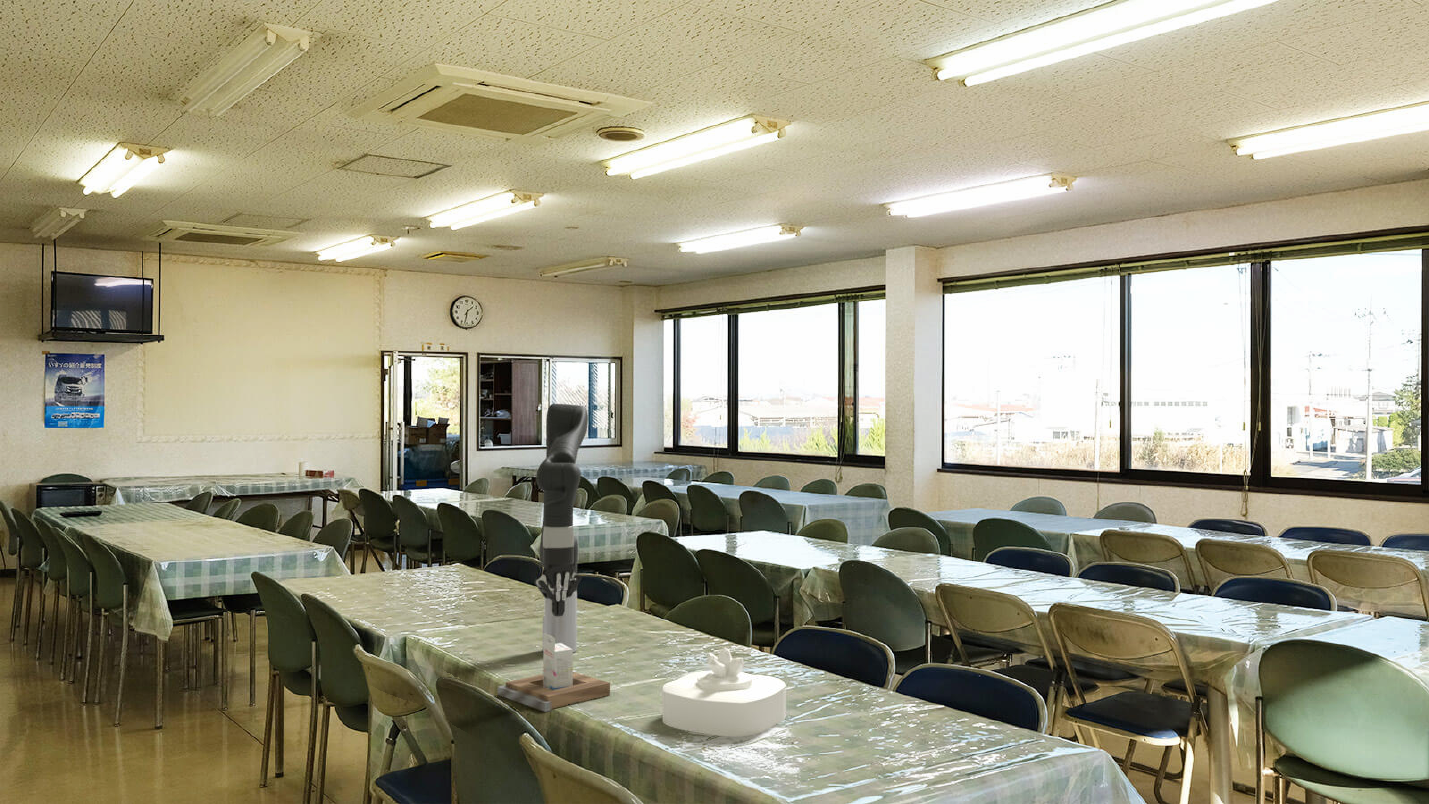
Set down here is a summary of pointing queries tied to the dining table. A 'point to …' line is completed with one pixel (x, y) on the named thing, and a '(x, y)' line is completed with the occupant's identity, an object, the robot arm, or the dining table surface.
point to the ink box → (557, 664)
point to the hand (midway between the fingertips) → (558, 615)
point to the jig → (553, 691)
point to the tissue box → (724, 700)
